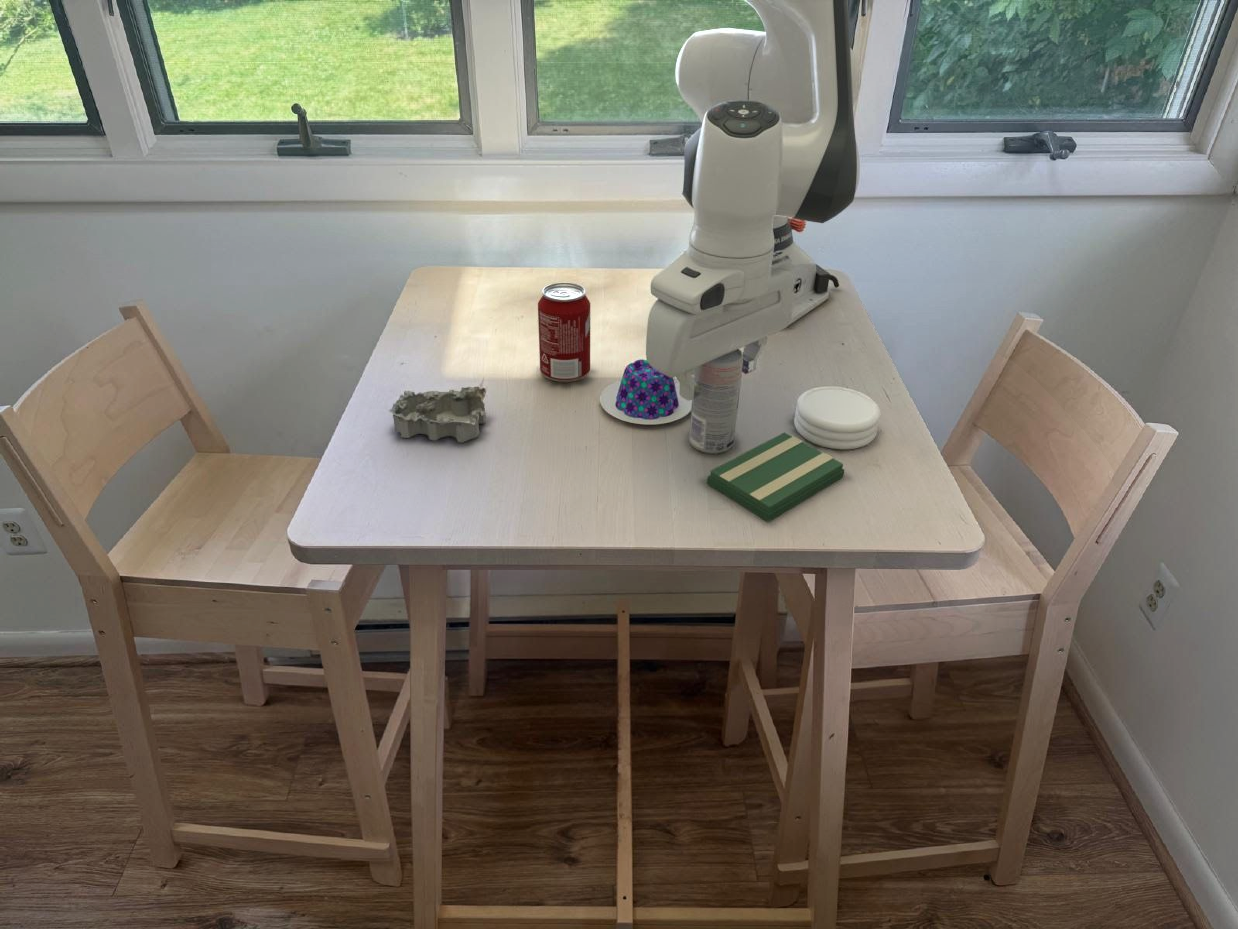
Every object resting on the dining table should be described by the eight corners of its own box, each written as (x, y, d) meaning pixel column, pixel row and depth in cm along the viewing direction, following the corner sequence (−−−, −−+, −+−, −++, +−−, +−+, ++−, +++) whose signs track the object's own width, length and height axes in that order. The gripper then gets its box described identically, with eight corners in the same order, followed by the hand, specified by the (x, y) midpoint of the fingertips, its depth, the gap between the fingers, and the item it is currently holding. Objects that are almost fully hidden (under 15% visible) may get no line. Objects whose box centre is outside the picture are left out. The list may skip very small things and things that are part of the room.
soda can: (583, 388, 114) (583, 304, 107) (534, 382, 115) (530, 298, 108) (595, 365, 120) (595, 283, 113) (547, 359, 121) (545, 278, 114)
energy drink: (726, 429, 107) (736, 340, 100) (739, 453, 102) (749, 362, 95) (684, 432, 106) (690, 343, 99) (694, 456, 101) (702, 365, 95)
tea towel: (782, 443, 104) (784, 430, 103) (843, 477, 99) (846, 463, 98) (706, 483, 97) (707, 469, 96) (767, 522, 92) (770, 507, 90)
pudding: (589, 387, 114) (589, 352, 111) (675, 377, 117) (678, 342, 114) (614, 435, 105) (614, 397, 102) (707, 422, 108) (710, 385, 105)
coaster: (804, 452, 103) (809, 427, 101) (785, 409, 111) (788, 385, 109) (887, 450, 103) (893, 425, 101) (861, 407, 112) (866, 383, 110)
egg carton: (491, 415, 108) (490, 386, 106) (473, 447, 102) (471, 418, 100) (410, 405, 110) (406, 377, 107) (387, 437, 103) (383, 407, 101)
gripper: (770, 238, 99) (757, 346, 107) (638, 283, 88) (634, 401, 96) (814, 254, 96) (797, 365, 103) (682, 304, 84) (674, 424, 92)
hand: (718, 383), depth 100 cm, fingers open, 8 cm apart
